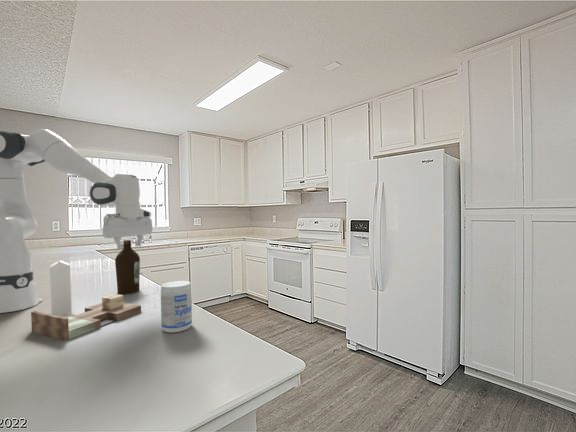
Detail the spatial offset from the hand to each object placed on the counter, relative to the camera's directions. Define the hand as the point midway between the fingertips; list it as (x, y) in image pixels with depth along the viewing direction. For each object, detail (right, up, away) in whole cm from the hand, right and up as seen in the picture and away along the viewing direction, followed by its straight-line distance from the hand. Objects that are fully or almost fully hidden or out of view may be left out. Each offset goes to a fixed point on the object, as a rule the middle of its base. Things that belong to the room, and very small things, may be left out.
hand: (129, 247), depth 121 cm
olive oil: (-13, -24, +24) cm, 37 cm away
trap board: (-6, -25, -15) cm, 29 cm away
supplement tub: (+28, -25, -22) cm, 43 cm away
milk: (-22, -25, -7) cm, 34 cm away
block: (-3, -22, -7) cm, 23 cm away
